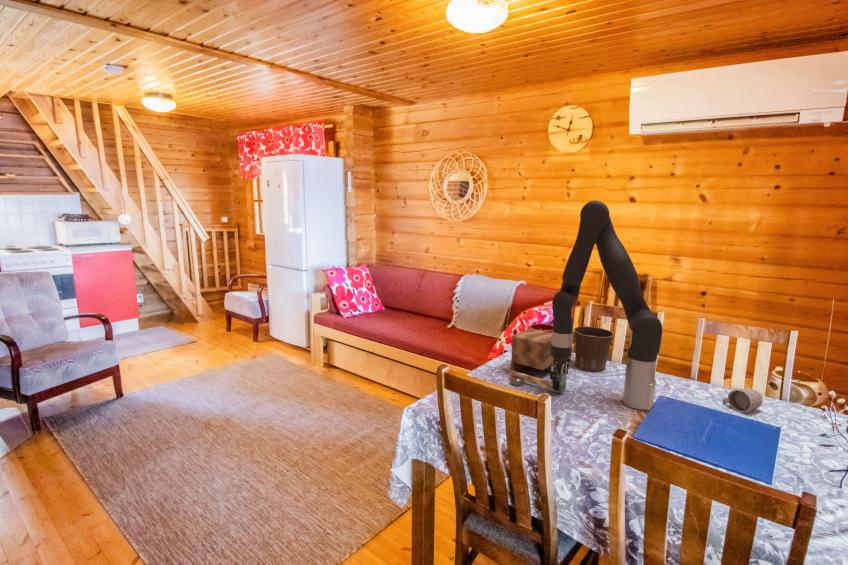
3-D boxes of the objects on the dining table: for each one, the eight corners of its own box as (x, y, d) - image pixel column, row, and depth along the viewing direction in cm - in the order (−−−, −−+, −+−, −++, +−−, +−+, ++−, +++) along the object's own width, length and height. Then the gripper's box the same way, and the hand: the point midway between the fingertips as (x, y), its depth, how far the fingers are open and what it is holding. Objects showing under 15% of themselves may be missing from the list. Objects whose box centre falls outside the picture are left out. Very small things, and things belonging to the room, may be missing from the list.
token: (525, 383, 175) (525, 377, 174) (520, 388, 171) (520, 381, 170) (513, 380, 177) (513, 374, 177) (508, 384, 173) (508, 378, 173)
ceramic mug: (763, 411, 154) (765, 390, 153) (749, 416, 151) (751, 394, 149) (730, 400, 164) (733, 380, 162) (717, 404, 160) (719, 383, 159)
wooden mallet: (565, 390, 166) (566, 372, 165) (561, 393, 163) (562, 375, 162) (513, 375, 180) (514, 358, 179) (508, 378, 177) (509, 361, 176)
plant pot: (616, 367, 194) (620, 331, 192) (601, 377, 183) (605, 339, 180) (580, 358, 205) (583, 324, 203) (564, 366, 194) (567, 330, 191)
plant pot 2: (538, 344, 224) (539, 321, 222) (560, 351, 214) (562, 327, 212) (521, 349, 216) (523, 325, 214) (544, 356, 206) (546, 331, 204)
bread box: (558, 371, 188) (561, 335, 185) (541, 383, 175) (544, 343, 173) (527, 363, 197) (529, 328, 194) (508, 373, 185) (510, 336, 182)
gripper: (563, 350, 155) (559, 396, 158) (579, 341, 166) (575, 385, 169) (543, 345, 160) (540, 391, 163) (559, 337, 171) (556, 380, 174)
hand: (558, 387), depth 166 cm, fingers closed on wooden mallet, 4 cm apart
